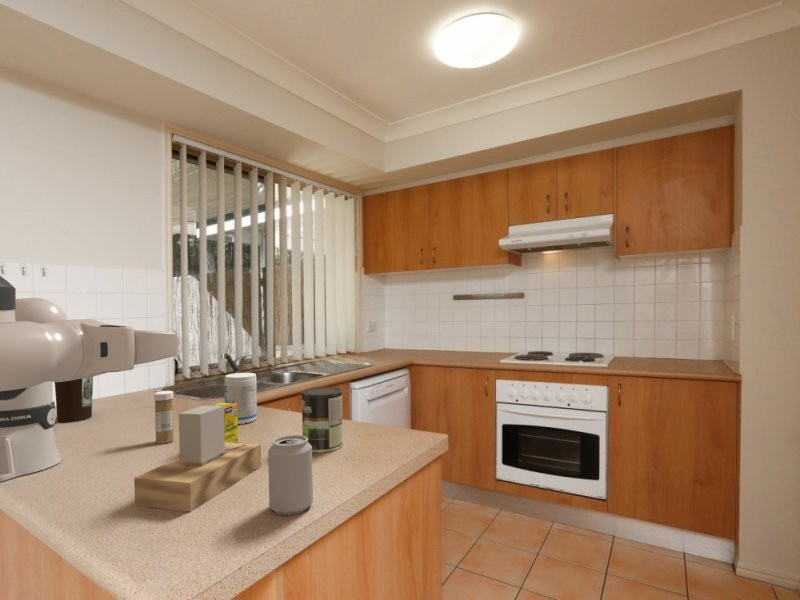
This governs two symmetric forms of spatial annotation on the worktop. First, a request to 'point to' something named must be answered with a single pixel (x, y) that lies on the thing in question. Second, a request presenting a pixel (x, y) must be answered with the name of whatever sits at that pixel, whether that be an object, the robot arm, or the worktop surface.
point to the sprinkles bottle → (164, 417)
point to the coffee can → (322, 418)
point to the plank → (195, 479)
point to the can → (290, 474)
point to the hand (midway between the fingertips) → (153, 341)
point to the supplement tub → (242, 395)
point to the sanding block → (201, 435)
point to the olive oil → (74, 399)
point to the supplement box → (230, 421)
